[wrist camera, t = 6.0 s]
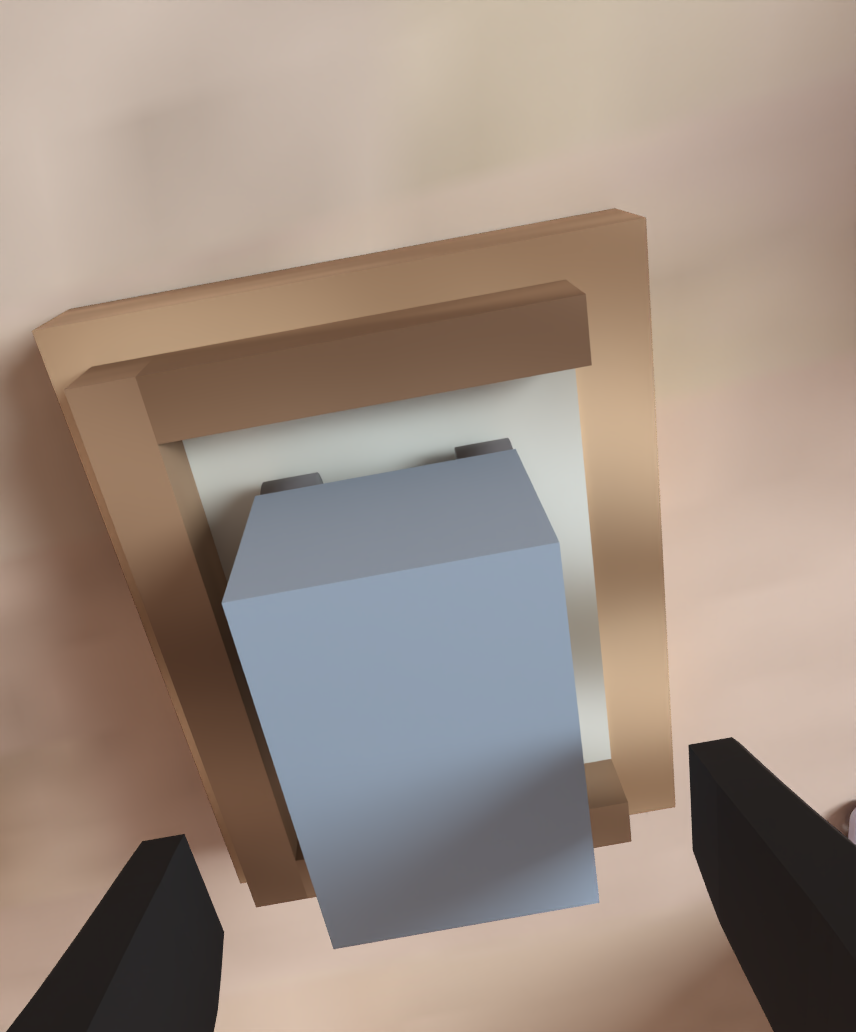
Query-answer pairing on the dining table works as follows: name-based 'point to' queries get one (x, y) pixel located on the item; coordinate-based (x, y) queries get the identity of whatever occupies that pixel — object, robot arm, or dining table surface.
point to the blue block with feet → (418, 693)
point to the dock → (383, 468)
